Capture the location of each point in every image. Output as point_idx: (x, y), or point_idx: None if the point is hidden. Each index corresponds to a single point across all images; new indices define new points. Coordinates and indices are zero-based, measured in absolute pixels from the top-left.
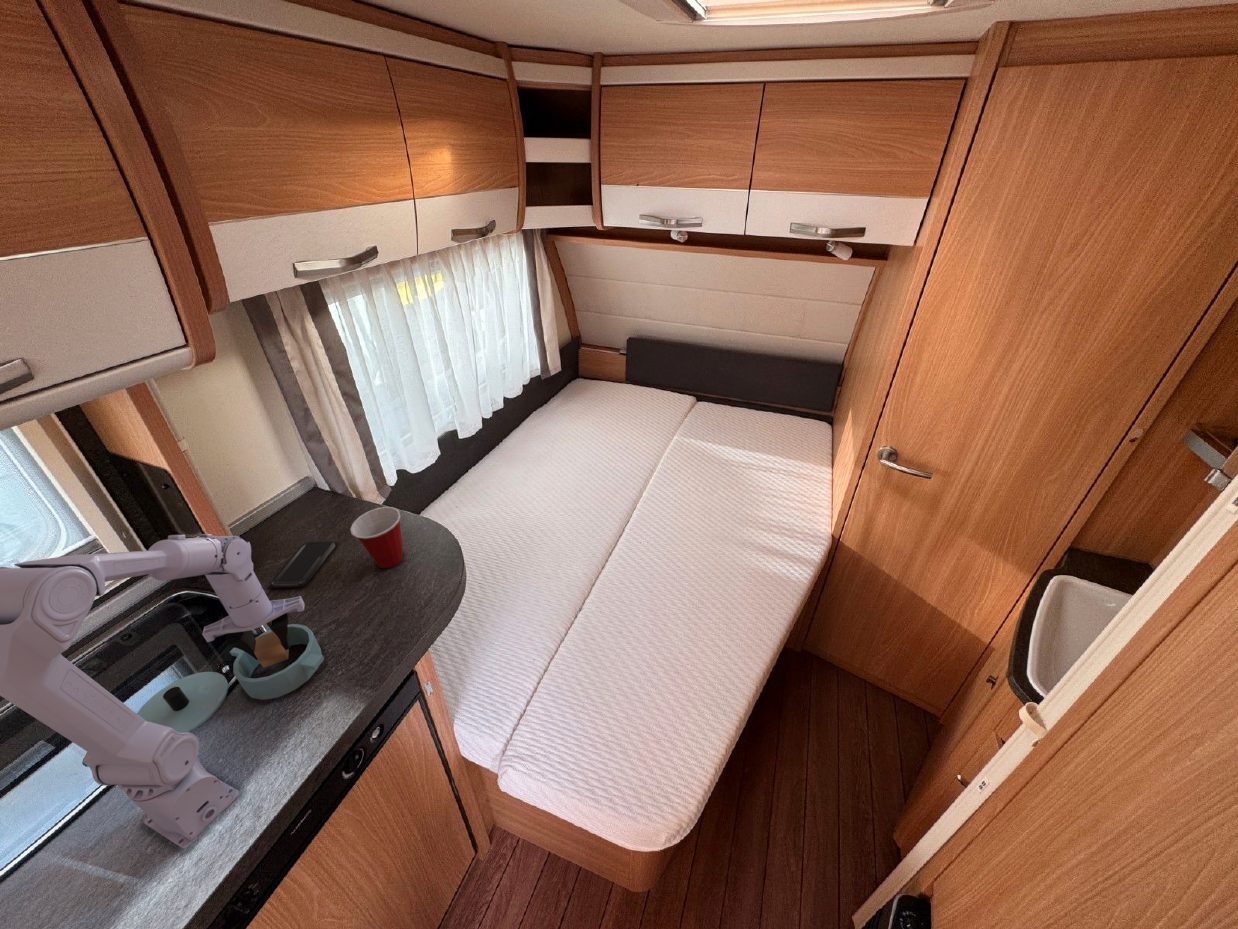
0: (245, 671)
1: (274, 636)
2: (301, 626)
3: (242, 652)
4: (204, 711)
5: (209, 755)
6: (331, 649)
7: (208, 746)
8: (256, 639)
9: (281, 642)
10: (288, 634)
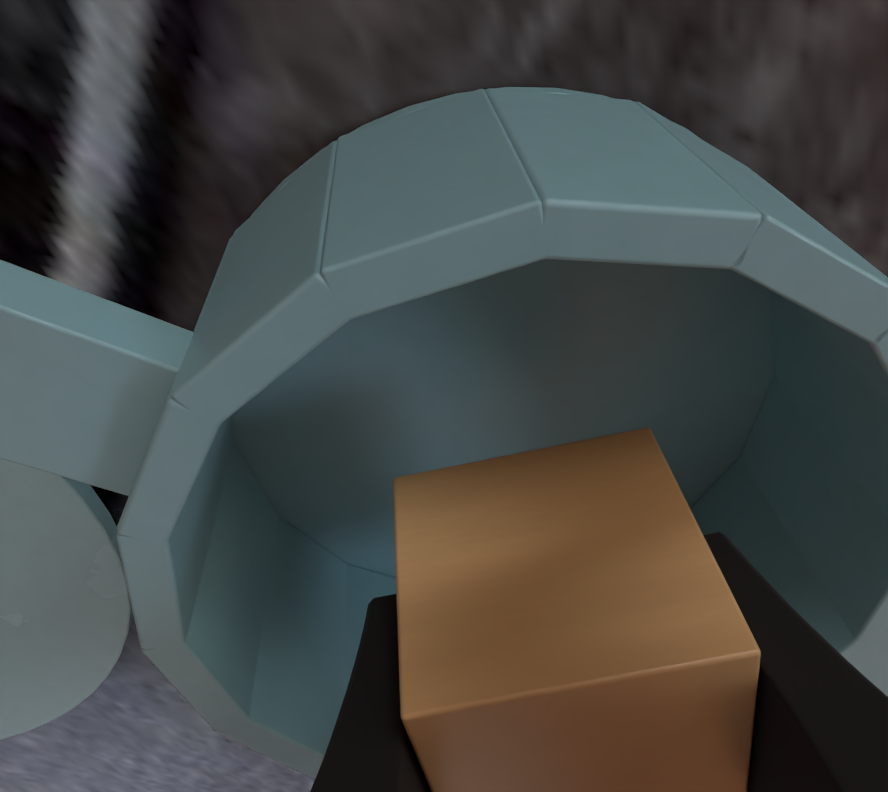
0: (215, 496)
1: (670, 742)
2: (869, 309)
3: (160, 549)
4: (52, 645)
5: (244, 769)
6: (878, 269)
7: (210, 740)
8: (418, 744)
9: (750, 788)
10: (783, 599)
